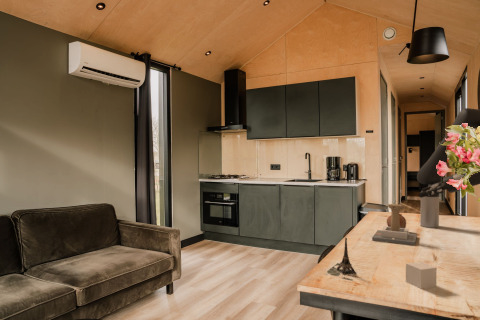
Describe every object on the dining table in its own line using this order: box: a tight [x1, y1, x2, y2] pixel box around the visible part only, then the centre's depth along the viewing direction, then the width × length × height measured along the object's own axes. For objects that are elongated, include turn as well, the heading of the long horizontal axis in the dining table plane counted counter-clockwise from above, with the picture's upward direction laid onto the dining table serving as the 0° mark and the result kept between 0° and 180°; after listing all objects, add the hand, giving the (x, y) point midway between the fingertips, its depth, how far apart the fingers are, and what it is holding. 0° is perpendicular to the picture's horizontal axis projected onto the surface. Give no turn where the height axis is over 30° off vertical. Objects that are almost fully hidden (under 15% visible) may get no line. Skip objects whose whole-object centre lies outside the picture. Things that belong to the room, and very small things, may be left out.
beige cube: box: [405, 261, 438, 290], centre depth 105 cm, size 6×6×6 cm
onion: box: [386, 213, 407, 229], centre depth 178 cm, size 10×9×10 cm
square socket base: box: [371, 225, 418, 246], centre depth 162 cm, size 18×18×4 cm
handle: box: [387, 203, 404, 232], centre depth 162 cm, size 5×6×15 cm
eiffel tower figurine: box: [327, 237, 358, 281], centre depth 117 cm, size 15×10×13 cm
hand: (420, 193), depth 161 cm, fingers open, 8 cm apart
